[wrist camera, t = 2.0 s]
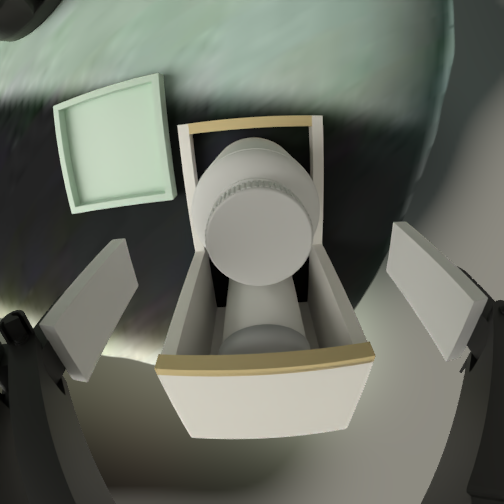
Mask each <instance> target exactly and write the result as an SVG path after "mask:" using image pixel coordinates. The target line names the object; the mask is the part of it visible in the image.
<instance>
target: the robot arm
mask: <svg viewBox="0 0 504 504" xmlns="http://www.w3.org/2000/svg"><path fill="white" fill-rule="evenodd" d="M60 1H61V0H0V41H9V42H10V41H16V40H18V39H21V38H22V37H24V36H26V35H27V34H29V33H30V32H32V31H33V30H34V29H35V28H36V27H38V26H39V25H40V24H41V23H42V22H43V21H44V20H45V19H46V18H47V17H48V16H49V15H50V13H51V12H52V11H53V10H54V9H55V7H56V6H57V5H58V4H59V2H60ZM386 272H387V273H388V274H389V276H390V277H391V279H392V280H393V281H394V283H395V284H396V286H397V287H398V288H399V290H400V291H401V292H402V294H403V295H404V297H405V298H406V300H407V301H408V302H409V304H410V305H411V307H412V308H413V310H414V311H415V313H416V314H417V316H418V317H419V319H420V320H421V322H422V323H423V325H424V327H425V328H426V330H427V331H428V333H429V334H430V336H431V338H432V339H433V341H434V342H435V344H436V346H437V347H438V349H439V351H440V352H441V354H442V355H443V357H444V359H445V361H446V362H447V361H450V360H454V359H456V358H460V357H461V355H462V353H463V351H464V350H465V348H466V346H468V347H469V349H470V350H471V352H470V354H469V356H468V357H467V359H466V361H465V363H464V364H463V367H462V368H461V370H460V373H462V371H463V370H464V369H465V368H466V369H465V375H464V380H463V385H462V389H461V394H460V398H459V402H458V406H457V410H456V414H455V417H454V421H453V425H452V428H451V431H450V434H449V437H448V440H447V443H446V447H445V449H444V452H443V454H442V457H441V460H440V462H439V465H438V467H437V470H436V472H435V475H434V477H433V479H432V481H431V484H430V486H429V488H428V490H427V493H426V494H425V496H424V498H423V501H422V503H421V504H504V301H503V300H498V301H496V302H495V301H494V300H493V299H492V298H491V297H490V296H489V295H488V294H487V292H486V291H485V290H484V289H483V288H482V287H481V286H480V285H479V284H477V282H476V281H475V280H474V279H472V278H471V276H470V275H469V274H468V273H467V272H466V271H464V270H463V269H461V268H459V267H458V266H456V265H455V264H454V263H453V262H452V261H451V260H450V259H448V258H447V257H446V256H445V255H444V254H443V253H442V252H441V251H440V250H439V249H437V248H436V247H435V246H434V245H433V244H432V243H431V242H430V241H428V240H427V239H426V238H425V237H424V236H423V235H421V234H420V233H419V232H418V231H417V230H416V229H414V228H413V227H412V226H411V225H409V224H408V223H407V222H393V228H392V236H391V243H390V249H389V256H388V262H387V267H386ZM137 287H138V283H137V280H136V276H135V273H134V270H133V266H132V263H131V259H130V255H129V252H128V248H127V244H126V240H125V239H115V240H112V241H111V242H110V243H109V244H108V245H107V246H106V247H105V248H104V249H103V250H102V251H101V252H100V253H99V254H98V255H97V256H96V257H95V258H94V259H93V261H92V262H91V263H90V264H89V265H88V266H87V267H86V268H85V269H84V270H83V272H82V273H81V274H80V275H79V276H78V277H77V278H76V280H75V281H74V282H73V283H72V284H71V285H70V286H69V288H68V289H67V290H66V291H65V292H64V293H63V294H61V295H60V296H59V297H58V298H57V299H56V301H55V302H54V303H53V305H51V307H50V308H49V311H47V312H46V313H45V314H44V316H43V317H42V318H41V319H40V321H39V322H38V323H37V325H36V326H35V327H34V328H32V326H31V324H30V322H29V321H28V319H27V317H26V315H25V313H24V312H23V311H22V310H16V311H13V312H11V313H9V314H7V315H6V316H5V317H4V318H3V319H2V320H1V321H0V332H1V334H2V336H3V337H4V339H5V340H6V342H7V344H1V342H0V386H1V387H2V389H3V391H2V394H1V393H0V504H116V503H115V501H114V500H113V498H112V496H111V494H110V492H109V491H108V489H107V487H106V485H105V483H104V481H103V479H102V477H101V475H100V473H99V471H98V468H97V466H96V464H95V462H94V459H93V457H92V455H91V453H90V450H89V448H88V445H87V443H86V441H85V438H84V435H83V433H82V430H81V427H80V424H79V421H78V419H77V416H76V413H75V410H74V406H73V403H72V400H71V397H70V393H69V390H68V386H67V382H66V380H65V379H64V377H63V376H62V375H63V373H64V371H65V369H66V370H67V372H68V373H69V375H70V376H71V377H72V379H74V380H79V381H84V382H88V380H89V378H90V376H91V374H92V372H93V370H94V368H95V366H96V364H97V361H98V360H99V357H100V356H101V354H102V352H103V350H104V348H105V346H106V344H107V342H108V340H109V338H110V336H111V334H112V332H113V330H114V329H115V327H116V325H117V323H118V321H119V319H120V317H121V316H122V314H123V312H124V310H125V308H126V307H127V305H128V303H129V301H130V299H131V298H132V296H133V294H134V292H135V291H136V289H137Z"/></svg>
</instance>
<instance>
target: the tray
mask: <svg viewBox="0 0 504 504" xmlns="http://www.w3.org/2000/svg"><path fill="white" fill-rule="evenodd" d="M53 110H54V120H55V129H56V137H57V144H58V150H59V156H60V162H61V167H62V172H63V177H64V182H65V187H66V191H67V196H68V200H69V204H70V208H71V212H72V214H75V213H81V212H87V211H93V210H99V209H106V208H113V207H119V206H127V205H134V204H142V203H149V202H158V201H166V200H173V199H174V198H175V197H176V196H177V189H176V182H175V175H174V168H173V161H172V153H171V145H170V137H169V128H168V119H167V109H166V98H165V87H164V75H163V74H160V73H155V74H150V75H146V76H142V77H138V78H134V79H130V80H127V81H123V82H120V83H116V84H113V85H110V86H106V87H103V88H100V89H97V90H94V91H91V92H89V93H86V94H83V95H80V96H78V97H75V98H72V99H70V100H67V101H65V102H62V103H60V104H58V105H55V106H53Z"/></svg>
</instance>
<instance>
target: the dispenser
mask: <svg viewBox="0 0 504 504" xmlns="http://www.w3.org/2000/svg"><path fill="white" fill-rule="evenodd" d="M177 126H178V135H179V144H180V152H181V160H182V168H183V176H184V183H185V190H186V197H187V204H188V210H189V217H190V223H191V229H192V235H193V241H194V247H195V254H194V257H193V260H192V263H191V265H190V268H189V271H188V274H187V277H186V280H185V282H184V285H183V288H182V291H181V294H180V297H179V300H178V303H177V306H176V309H175V312H174V315H173V318H172V321H171V324H170V327H169V330H168V334H167V337H166V340H165V343H164V346H163V350H162V353H161V354H159V355H158V359H157V362H156V365H155V368H154V369H155V371H156V373H157V375H158V377H159V379H160V381H161V383H162V385H163V387H164V389H165V391H166V393H167V395H168V397H169V399H170V401H171V402H172V404H173V406H174V408H175V410H176V412H177V414H178V415H179V417H180V419H181V421H182V422H183V424H184V426H185V427H186V429H187V431H188V433H189V434H190V436H191V437H193V438H212V439H257V438H276V437H289V436H298V435H308V434H315V433H323V432H330V431H335V430H342V429H346V428H347V427H348V424H349V422H350V420H351V418H352V415H353V413H354V411H355V408H356V406H357V404H358V401H359V399H360V396H361V394H362V391H363V389H364V386H365V384H366V381H367V378H368V376H369V373H370V370H371V367H372V364H373V361H374V359H375V354H374V351H373V349H372V346H371V344H370V342H367V340H366V338H365V335H364V333H363V330H362V328H361V326H360V324H359V321H358V319H357V317H356V315H355V312H354V310H353V308H352V306H351V303H350V301H349V299H348V297H347V295H346V292H345V290H344V288H343V286H342V284H341V282H340V280H339V277H338V275H337V273H336V271H335V269H334V267H333V265H332V263H331V261H330V259H329V257H328V255H327V253H326V251H325V249H324V247H323V245H322V232H323V192H324V155H323V116H316V115H294V116H263V117H247V118H234V119H223V120H214V121H205V122H197V123H190V124H183V125H177ZM286 126H309V145H310V177H311V179H312V180H313V182H314V184H315V187H316V189H317V192H318V196H319V202H320V216H319V222H318V226H317V229H316V232H315V234H314V239H313V244H312V248H311V252H310V253H309V279H308V300H307V302H298V299H297V295H296V290H295V286H294V282H293V278H292V275H291V276H290V277H288V278H287V279H285V280H283V281H280V282H278V283H275V284H271V285H264V286H253V285H246V284H242V283H239V282H237V281H234V280H232V279H230V278H229V285H228V294H227V303H226V307H217V303H216V298H215V292H214V286H213V280H212V274H211V268H210V262H209V255H208V252H207V249H206V248H205V247H204V246H203V244H202V243H201V241H200V239H199V237H198V235H197V233H196V230H195V227H194V224H193V219H192V199H193V195H194V191H195V189H196V186H197V184H198V177H197V169H196V161H195V152H194V143H193V134H196V133H204V132H213V131H222V130H233V129H246V128H261V127H286Z"/></svg>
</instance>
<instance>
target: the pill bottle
mask: <svg viewBox="0 0 504 504" xmlns="http://www.w3.org/2000/svg"><path fill="white" fill-rule="evenodd" d="M319 216H320V202H319V196H318V192H317V189H316V187H315V184H314V182H313V180H312V179H311V177H310V176H309V174H308V173H307V171H306V170H305V169H304V168H303V167H302V166H301V165H300V164H299V163H298V162H297V161H296V160H295V159H294V158H293V157H292V156H291V155H290V154H288V153H287V152H286V151H285V150H284V149H283V148H282V147H281V146H279V145H278V144H276V143H274V142H272V141H270V140H267V139H264V138H256V137H252V138H244V139H241V140H238V141H236V142H234V143H232V144H230V145H229V146H227V147H226V148H225V149H224V150H223V151H222V152H221V153H220V154H219V156H218V157H217V158H216V159H215V160H214V161H213V163H212V164H211V165H210V166H209V167H208V169H207V170H206V171H205V172H204V174H203V175H202V177H201V178H200V180H199V182H198V184H197V186H196V189H195V191H194V195H193V199H192V219H193V224H194V227H195V230H196V233H197V235H198V237H199V239H200V241H201V243H202V244H203V246H204V247H205V248H206V249H207V252H208V253H209V257H210V258H211V261H212V262H213V263H214V265H215V266H216V267H217V268H218V270H220V271H221V272H222V273H223V274H224V275H226V276H227V277H229V278H230V279H232V280H234V281H237V282H239V283H242V284H246V285H253V286H264V285H271V284H275V283H278V282H280V281H283V280H285V279H287V278H288V277H290V276H291V275H293V274H294V273H295V272H297V270H299V269H300V268H301V266H302V265H303V264H304V262H305V261H306V260H307V258H308V256H309V253H310V252H311V248H312V244H313V239H314V234H315V232H316V229H317V226H318V222H319Z"/></svg>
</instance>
